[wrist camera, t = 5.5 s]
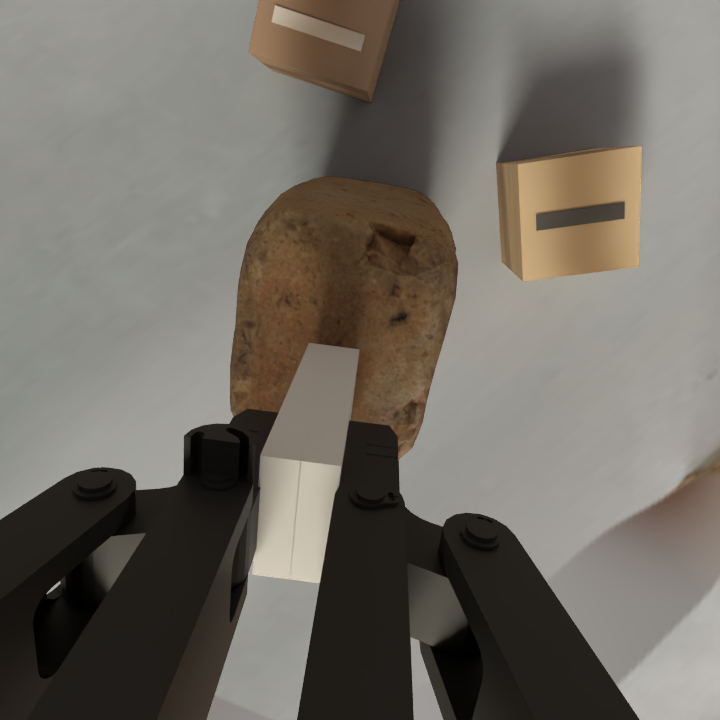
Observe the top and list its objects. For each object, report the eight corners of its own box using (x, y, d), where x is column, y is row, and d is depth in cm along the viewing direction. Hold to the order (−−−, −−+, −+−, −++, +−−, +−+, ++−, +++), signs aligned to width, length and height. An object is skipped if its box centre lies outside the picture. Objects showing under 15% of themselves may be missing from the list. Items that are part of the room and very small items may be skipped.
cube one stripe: (501, 261, 35) (523, 282, 30) (496, 163, 33) (518, 164, 28) (598, 248, 35) (639, 266, 29) (598, 147, 33) (642, 145, 27)
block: (320, 164, 34) (235, 172, 15) (439, 192, 34) (502, 235, 15) (290, 330, 37) (191, 502, 19) (397, 354, 38) (406, 548, 19)
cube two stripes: (273, 70, 32) (247, 51, 26) (298, -47, 30) (277, -96, 24) (371, 103, 32) (367, 91, 27) (403, -12, 30) (406, -51, 25)
